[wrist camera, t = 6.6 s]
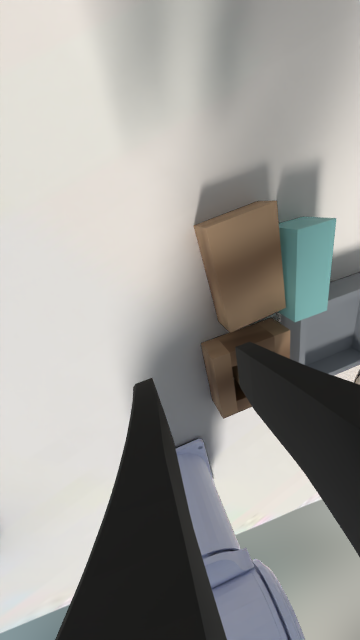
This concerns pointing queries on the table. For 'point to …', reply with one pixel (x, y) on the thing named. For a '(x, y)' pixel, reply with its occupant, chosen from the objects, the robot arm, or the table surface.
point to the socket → (223, 358)
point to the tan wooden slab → (243, 263)
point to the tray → (330, 330)
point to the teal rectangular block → (306, 265)
